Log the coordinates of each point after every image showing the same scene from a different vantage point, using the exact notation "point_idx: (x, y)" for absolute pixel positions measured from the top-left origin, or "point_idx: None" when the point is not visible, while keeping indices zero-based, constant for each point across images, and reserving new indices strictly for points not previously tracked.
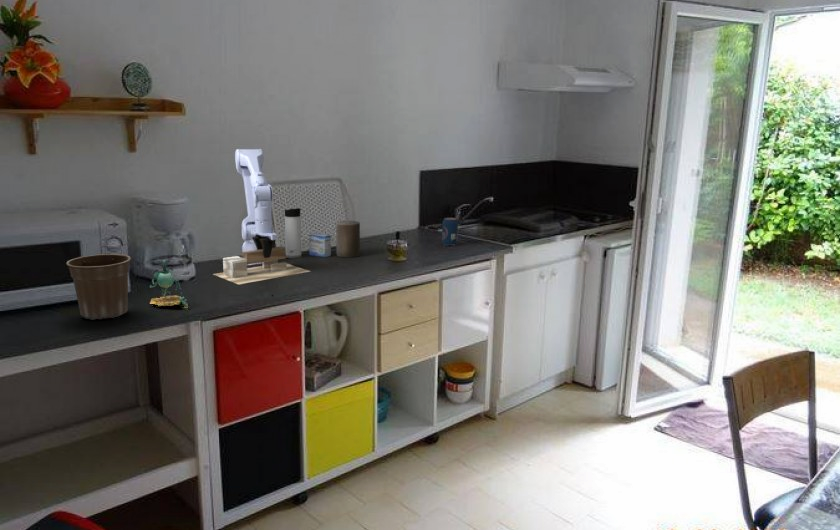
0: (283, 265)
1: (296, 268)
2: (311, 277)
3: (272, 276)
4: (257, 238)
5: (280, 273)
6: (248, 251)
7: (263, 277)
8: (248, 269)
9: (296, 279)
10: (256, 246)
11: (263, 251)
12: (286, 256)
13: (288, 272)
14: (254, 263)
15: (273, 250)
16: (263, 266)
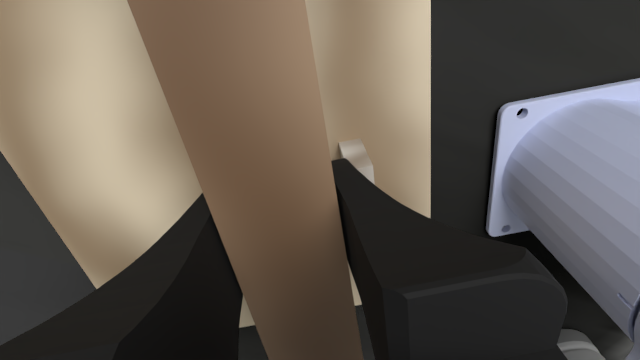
0: None
1: (241, 308)
2: None
3: (35, 114)
4: (386, 341)
5: (131, 197)
6: (279, 2)
7: (2, 26)
8: (387, 15)
9: (11, 242)
10: (385, 205)
11: (197, 218)
12: (563, 333)
13: (147, 248)
14: (535, 135)
15: (258, 320)
16: (348, 149)
